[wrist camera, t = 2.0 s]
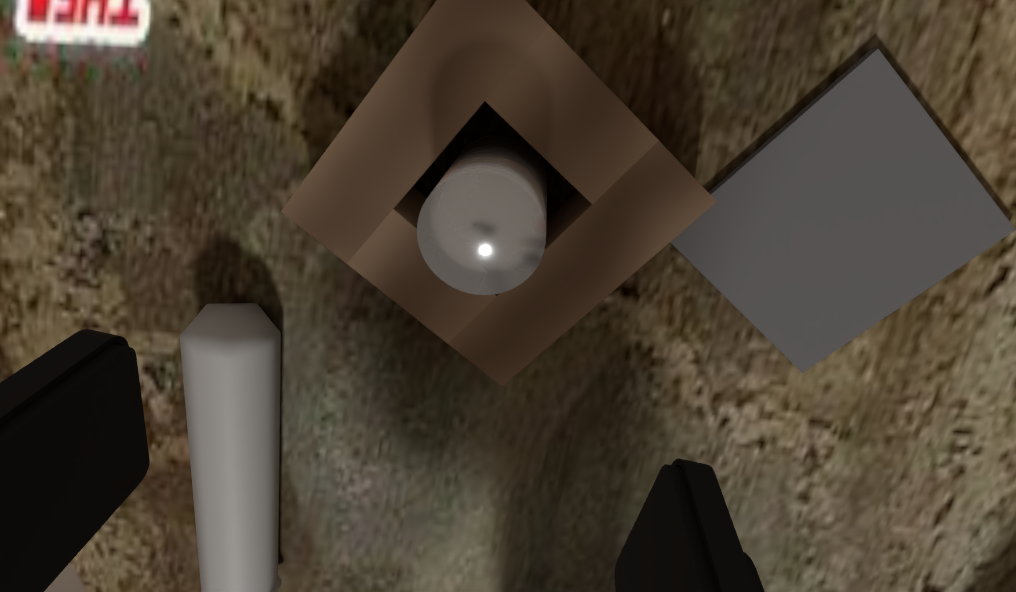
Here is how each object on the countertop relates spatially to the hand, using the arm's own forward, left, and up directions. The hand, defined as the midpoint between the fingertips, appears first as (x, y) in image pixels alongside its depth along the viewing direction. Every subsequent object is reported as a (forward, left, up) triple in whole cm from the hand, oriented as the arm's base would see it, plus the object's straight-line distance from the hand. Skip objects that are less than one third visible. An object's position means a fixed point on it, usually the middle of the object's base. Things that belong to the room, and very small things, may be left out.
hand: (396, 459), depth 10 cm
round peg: (0, 0, -20) cm, 20 cm away
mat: (-14, -10, -20) cm, 27 cm away
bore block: (0, 0, -20) cm, 20 cm away
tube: (0, +26, -21) cm, 33 cm away
